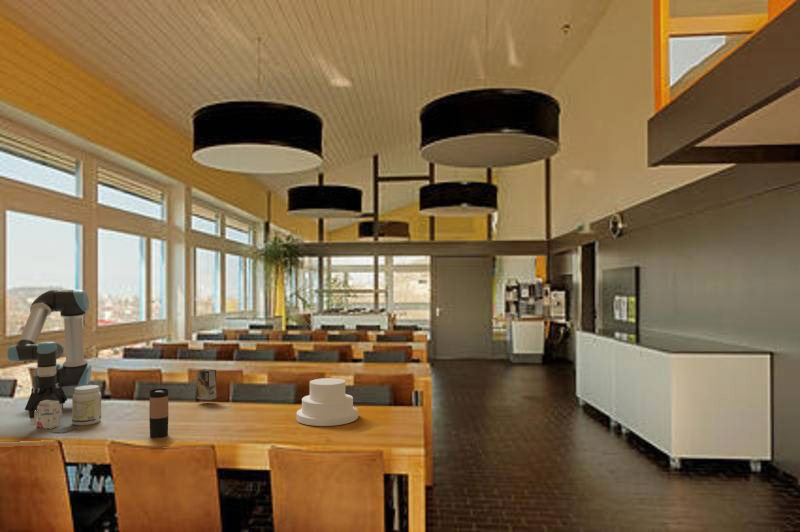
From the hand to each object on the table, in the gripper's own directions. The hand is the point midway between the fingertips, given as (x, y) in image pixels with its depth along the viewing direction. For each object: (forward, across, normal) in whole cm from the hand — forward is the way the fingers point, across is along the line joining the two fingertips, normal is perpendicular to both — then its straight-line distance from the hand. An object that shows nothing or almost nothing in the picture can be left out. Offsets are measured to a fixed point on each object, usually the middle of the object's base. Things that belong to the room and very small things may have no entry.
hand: (46, 421), depth 254 cm
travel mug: (+3, 0, +61) cm, 61 cm away
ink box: (+3, 0, 0) cm, 3 cm away
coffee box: (+3, -69, +38) cm, 79 cm away
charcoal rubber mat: (+3, +3, +13) cm, 14 cm away
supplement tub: (+3, -11, +12) cm, 17 cm away
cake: (+3, -47, +121) cm, 130 cm away
